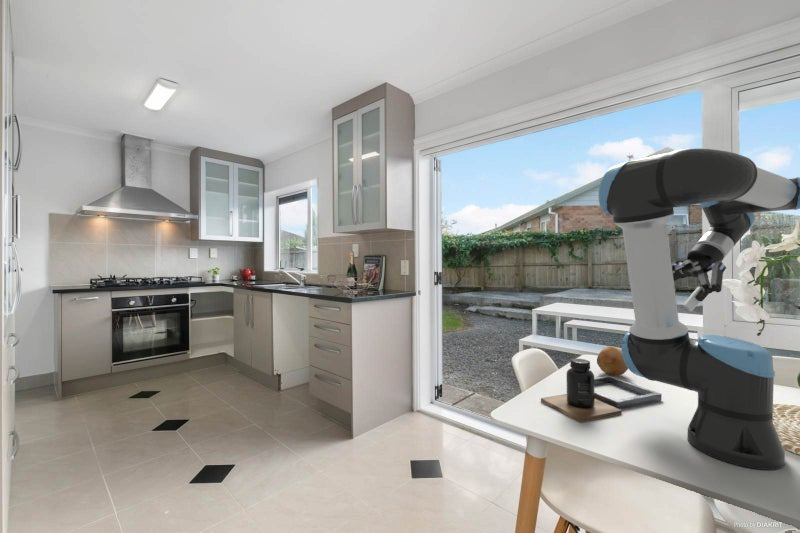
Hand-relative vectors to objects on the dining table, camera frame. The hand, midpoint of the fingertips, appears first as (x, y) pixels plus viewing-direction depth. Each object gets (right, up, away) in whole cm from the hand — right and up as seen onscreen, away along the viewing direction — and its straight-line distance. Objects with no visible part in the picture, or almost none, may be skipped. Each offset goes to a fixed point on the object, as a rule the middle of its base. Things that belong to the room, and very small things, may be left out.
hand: (663, 305), depth 101 cm
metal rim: (-10, -28, +7) cm, 30 cm away
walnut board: (-25, -28, -2) cm, 37 cm away
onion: (0, -27, +25) cm, 37 cm away
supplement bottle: (-25, -27, -3) cm, 37 cm away
